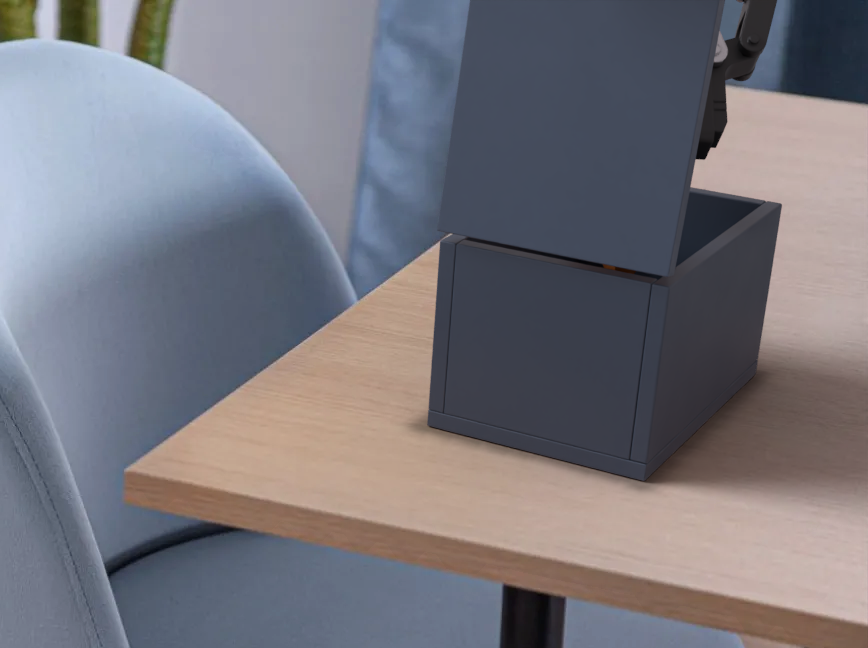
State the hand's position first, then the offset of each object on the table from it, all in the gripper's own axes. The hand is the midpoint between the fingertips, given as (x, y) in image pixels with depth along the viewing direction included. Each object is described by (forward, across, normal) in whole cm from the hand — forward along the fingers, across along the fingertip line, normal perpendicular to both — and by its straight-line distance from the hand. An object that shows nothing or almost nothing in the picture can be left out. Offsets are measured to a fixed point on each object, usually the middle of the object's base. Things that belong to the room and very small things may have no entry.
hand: (643, 146), depth 78 cm
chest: (+8, 0, +9) cm, 13 cm away
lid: (0, -4, -6) cm, 7 cm away
